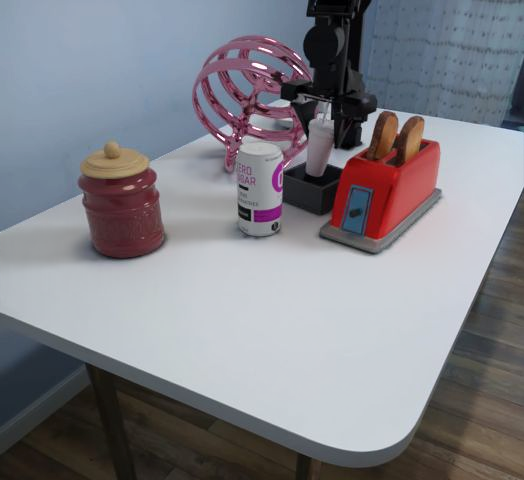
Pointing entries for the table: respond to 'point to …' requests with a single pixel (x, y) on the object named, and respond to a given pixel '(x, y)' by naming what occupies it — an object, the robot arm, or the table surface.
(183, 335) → the table surface
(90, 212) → the kitchen canister
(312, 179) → the bin
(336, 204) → the toaster
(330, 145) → the smoothie
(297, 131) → the spiral basket
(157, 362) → the table surface
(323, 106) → the spoon rest
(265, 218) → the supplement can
